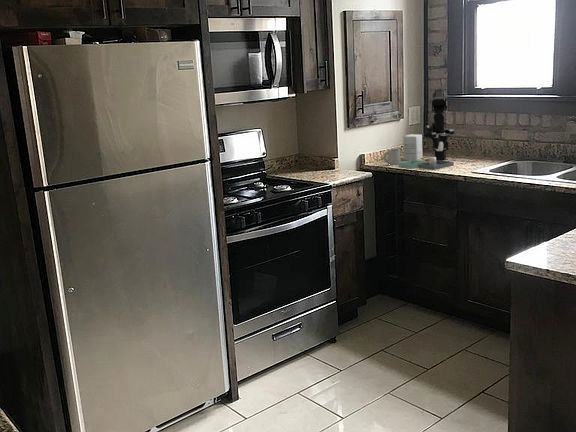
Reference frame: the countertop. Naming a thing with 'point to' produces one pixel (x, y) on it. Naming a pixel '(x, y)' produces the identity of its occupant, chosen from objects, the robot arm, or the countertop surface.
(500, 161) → the countertop surface
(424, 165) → the grey tray
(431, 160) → the far stone
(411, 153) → the supplement box
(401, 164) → the green bin
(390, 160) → the cup
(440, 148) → the near stone
